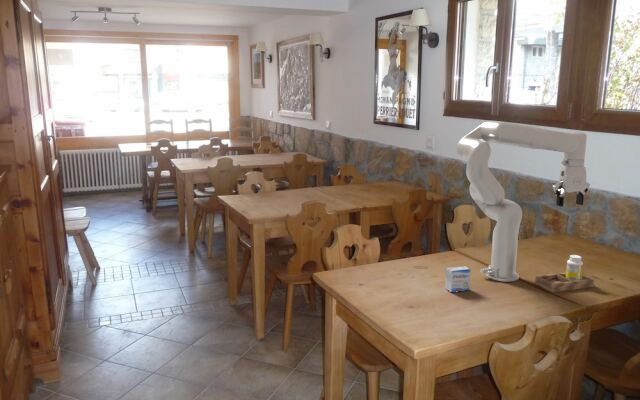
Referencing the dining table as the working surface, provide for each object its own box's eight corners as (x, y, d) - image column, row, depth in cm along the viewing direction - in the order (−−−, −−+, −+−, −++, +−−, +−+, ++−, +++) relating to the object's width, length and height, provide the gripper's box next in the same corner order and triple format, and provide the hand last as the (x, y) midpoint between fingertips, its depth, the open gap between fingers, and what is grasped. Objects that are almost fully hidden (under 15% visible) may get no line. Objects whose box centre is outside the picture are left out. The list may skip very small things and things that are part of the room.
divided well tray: (552, 292, 192) (552, 284, 191) (535, 283, 201) (535, 276, 200) (593, 286, 197) (594, 279, 196) (575, 278, 206) (575, 271, 205)
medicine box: (450, 293, 192) (451, 271, 190) (444, 288, 196) (445, 267, 194) (469, 290, 194) (470, 269, 192) (463, 286, 198) (464, 265, 196)
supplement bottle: (575, 278, 203) (578, 253, 201) (584, 283, 197) (586, 258, 195) (562, 279, 202) (564, 254, 200) (570, 284, 197) (573, 258, 195)
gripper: (562, 165, 199) (558, 208, 202) (598, 163, 204) (594, 205, 207) (548, 163, 206) (545, 204, 209) (584, 161, 211) (579, 202, 214)
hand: (569, 205), depth 208 cm, fingers open, 9 cm apart
